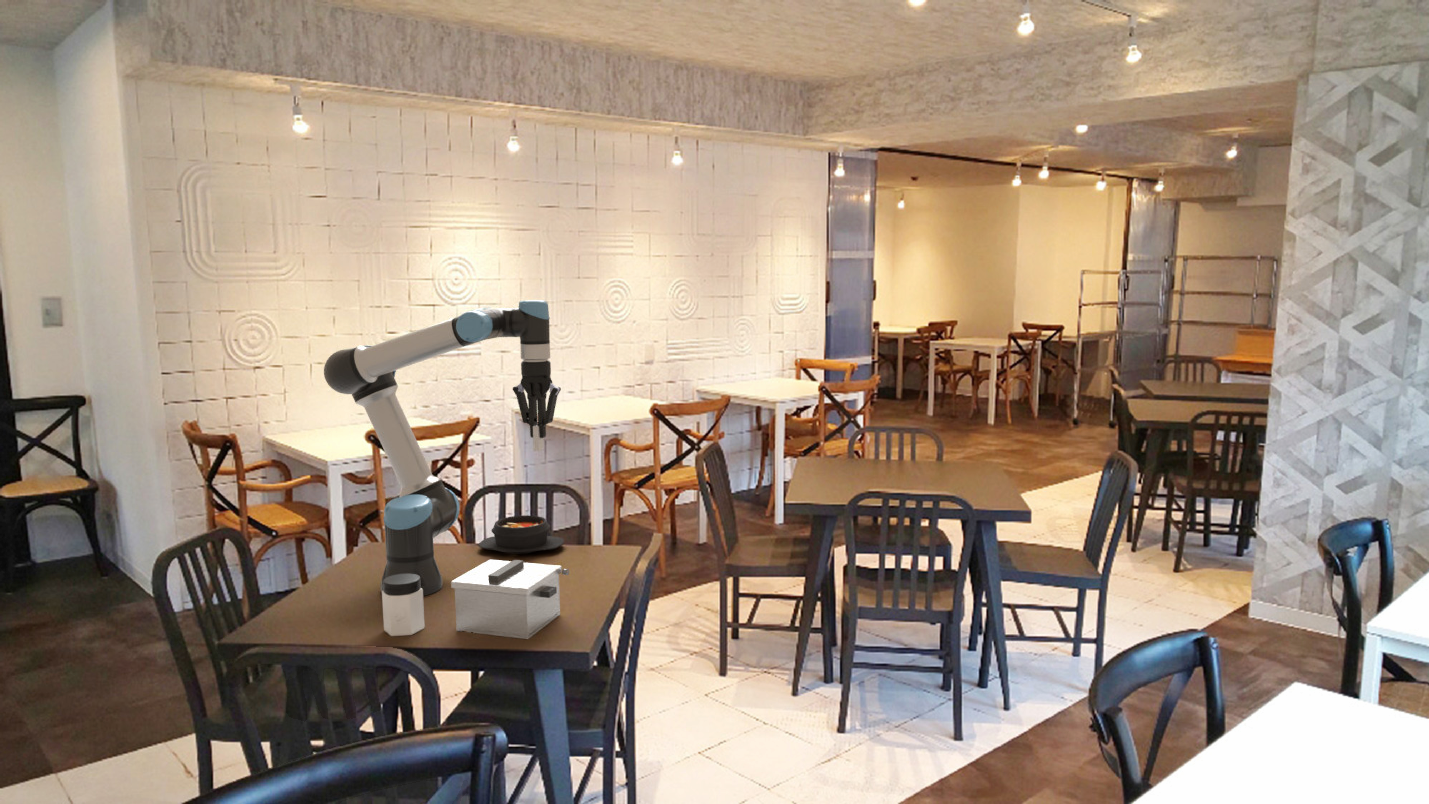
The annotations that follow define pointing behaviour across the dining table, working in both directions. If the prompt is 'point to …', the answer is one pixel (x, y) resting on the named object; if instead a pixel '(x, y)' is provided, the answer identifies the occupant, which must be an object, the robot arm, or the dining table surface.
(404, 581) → the jar
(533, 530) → the casserole
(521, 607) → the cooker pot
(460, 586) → the lid
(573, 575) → the dining table surface
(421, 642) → the dining table surface
